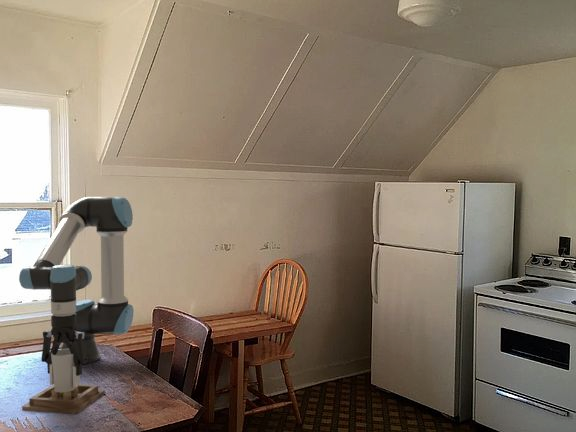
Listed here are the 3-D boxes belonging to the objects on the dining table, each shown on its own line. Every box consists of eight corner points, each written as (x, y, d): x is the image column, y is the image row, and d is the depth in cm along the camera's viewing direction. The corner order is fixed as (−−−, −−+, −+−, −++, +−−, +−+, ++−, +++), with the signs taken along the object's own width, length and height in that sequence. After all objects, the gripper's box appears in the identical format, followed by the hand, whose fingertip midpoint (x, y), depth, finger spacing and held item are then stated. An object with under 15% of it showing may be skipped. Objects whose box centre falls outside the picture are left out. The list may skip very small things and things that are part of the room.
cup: (69, 394, 180) (68, 356, 180) (46, 392, 182) (45, 355, 181) (83, 385, 188) (82, 349, 188) (60, 383, 190) (60, 348, 189)
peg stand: (55, 389, 196) (55, 377, 196) (104, 393, 193) (104, 381, 192) (22, 409, 178) (21, 396, 178) (75, 414, 175) (75, 401, 175)
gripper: (27, 314, 182) (29, 386, 183) (86, 317, 178) (87, 390, 179) (42, 309, 189) (43, 378, 190) (99, 312, 186) (100, 382, 187)
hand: (64, 384), depth 185 cm, fingers open, 7 cm apart
